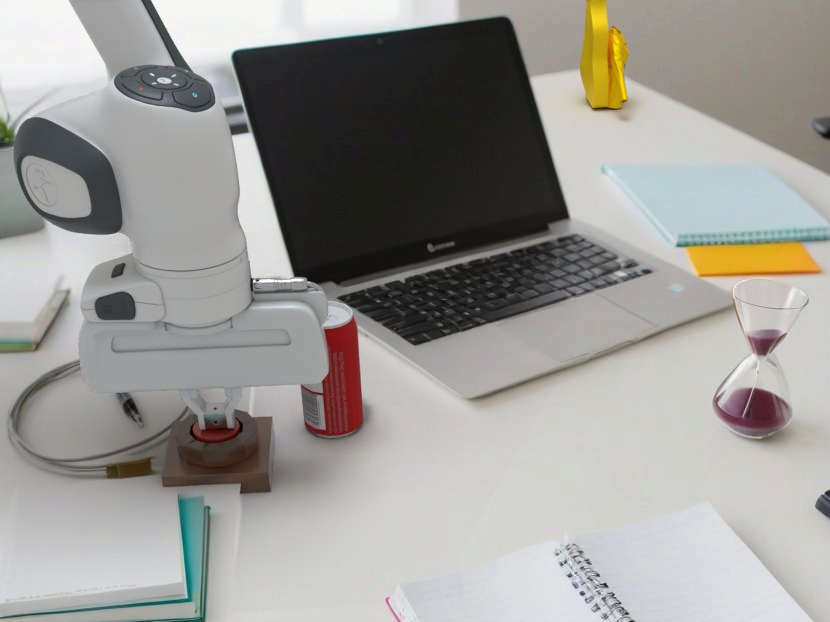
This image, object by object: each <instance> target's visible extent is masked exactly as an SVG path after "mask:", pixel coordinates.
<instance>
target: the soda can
mask: <svg viewBox="0 0 830 622" xmlns="http://www.w3.org/2000/svg"><path fill="white" fill-rule="evenodd" d="M353 312H354V311H353V308H351V307H349V306H348V305H347V304H345V303H341V302H339V301H334V300H328V318H327V320H326V322H325V323H324V324H323V327H324V332H325V336H326V342H327V348H328V358H329V372H328V374H327V376H326V377H325V378H324V379H323V381H322V382H321V383H318V384H301V385H300V393H301V403H302V414H303V423H304V426H305V427H306V429H307V430H309V431H310V432H312V433H313V434H315V435H316V436H317V437H322V438H326V439H337V438H342V437H346V436H349V435H351V434H353V433H354V432H356V431H357V430H358V429H359V428H360V427H361V426H362V425H363V422H364V409H363V408H364V407H363V396H362V395H363V392H362V378H361V363H360V362H361V360H360V359H361V358H360V347H359V343H360V342H359V328H358V324H357V322H356V319H355V316H354V313H353Z"/></svg>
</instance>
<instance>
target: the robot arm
mask: <svg viewBox="0 0 830 622" xmlns="http://www.w3.org/2000/svg"><path fill="white" fill-rule="evenodd" d="M68 2H69V4H70V5H71V8H72V9H73V11H74V12H75V15H76V16H77V18H78V20H79V21H80V23H81V25H82V27H83V28H84V30H85V32H86V34H87V35H88V37H89V39H90V40H91V42H92V44H93V46H94V47H95V49H96V51H97V52H98V54H99V56H100V58H101V59H102V61H103V63H104V64H105V67H106V66H107V68H108V70H109V73H110V77H111V81H110V82H109V81H108V84H106V85H105V86H104V87H101V88H100V89H97V90H94V91H93V92H90V93H86V94H84V95H80V96H76V97H74V98H71V99H68V100H65V101H63V102H59V103H58V104H54V105H53V106H50V107H47V108H45V109H43V110H40V111H39V112H37V113H35V114H34V115H32V116H31V117H29V118H27V119H25V120H23V122H22V123H21V124H20V125H19V127H18V129H17V131H16V133H15V134H16V135H15V138H14V142H13V153H12V155H13V165H14V171H15V174H16V178H17V180H18V183H19V187H20V189H21V192H22V193H23V195H24V197H25V199H26V200H27V202H28V203H29V205H30V206H31V207H32V209H33V210H34V211H35V212H36V213H37V214H38V215H39V216H40V217H41V218H42V219H44V220H45V221H46V222H49V223H50V224H52V225H53V226H56V227H57V228H60V229H61V230H64V231H67V232H70V233H75V234H84V235H93V236H94V235H95V236H107V235H114V234H117V233H118V234H122V235H124V236H126V237H127V238H128V240H129V241H130V243H131V244H130V245H131V253H127V254H124V255H122V256H119V257H116V258H113V259H111V260H108V261H107V260H106V261H103V262H102V263H98V264H96V265H95V266H94V267H93V268H92V269H91V271H90V273H89V274H88V276H87V278H86V280H85V282H84V284H83V287H82V290H81V295H80V303H79V304H80V306H79V307H80V311H81V313H82V316H83V320H82V323H81V326H80V329H79V332H78V337H77V338H78V339H77V340H78V341H77V343H78V346H77V347H78V357H79V364H80V365H79V367H80V373H81V377H82V381H83V382H82V383H83V384H84V386H86V387H87V388H88V389H89V390H91V391H92V392H93V393H95V394H97V395H99V394H101V395H102V394H103V395H104V394H118V393H120V394H121V393H123V394H125V393H141V392H142V393H144V392H146V393H147V392H165V391H167V392H169V391H179V394H180V400H181V401H182V402H183V403H184V404H185V405H186V406H187V407H188V408H189V409H190V410H191V411H192V412H193V414H194V413H195V414H196V415H197V416H198V422H199V427H200V430H211V429H230V428H234V425H235V414H234V410H235V409H236V408H237V407H238V405H239V403H240V401H241V399H242V397H243V388H254V387H255V388H256V387H276V386H295V385H296V386H299V385H300V386H301V384H318V383H321V382H322V381H323V379H324V378H325V377H326V376H327V374H328V372H329V358H328V348H327V342H326V336H325V332H324V327H323V324H324V323H325V322H326V320H327V318H328V301H329V299H328V296H327V293H326V291H325V290H324V288H323V287H322V286H321V285H319V284H318V283H316V282H313V281H308V278H307V277H304V276H293V277H290V278H277V277H276V278H275V277H256V278H253V277H252V273H251V274H250V269H251V265H250V266H249V261H250V260H249V258H250V257H249V252H248V244H247V237H246V234H245V232H244V229H243V227H242V225H241V223H240V218H239V203H240V196H241V186H240V178H239V172H238V171H239V170H238V164H237V158H236V151H235V145H234V141H233V135H232V131H231V127H230V123H229V119H228V116H227V114H226V110H225V107H224V105H223V102H222V101H221V98H220V96H219V94H218V93H217V90H216V88H215V87H214V86H213V84H211V82H209V81H208V79H206V78H204V77H203V76H201V75H199V74H197V73H195V72H194V71H193V69H192V68H191V67H190V65H189V64H188V63H187V61H186V59H185V58H184V57H183V55H182V53H181V52H180V50H179V49H178V46H177V45H176V43H175V41H174V40H173V39H172V36H171V34H170V33H169V31H168V28H167V29H166V27H165V25H166V24H165V23H164V21H163V20H162V18H161V16H160V14H159V12H158V10H157V9H156V7H155V5H154V3H153V1H152V0H68ZM164 24H165V25H164ZM211 389H223V390H224V396H225V397H226V400H225V402H218V403H217V402H214V403H207V402H206V401H205V399H204V398H203V397H202V396H201V394H200V393H199V390H211Z"/></svg>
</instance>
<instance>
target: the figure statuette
mask: <svg viewBox="0 0 830 622" xmlns="http://www.w3.org/2000/svg"><path fill="white" fill-rule="evenodd" d="M583 32H584V33H583V42H582V48H581V55H580V62H579V73H580V78H581V83H582V85H583V90H584V93H585V98H586V99H587V101H588V103H589V105H590V107H591V108H592V109H596V108H597V109H598V108H610V109H616V110H617V109H622V108H623V103H626V102H628V101H629V99H628V94H627V93H628V91H627V88H626V78H625V68H626V63H627V61H628V58H629V57H630V56H629V55H630V53H631V51H630V50H629V49H628V48H627V45H628V44H627V43H628V41H627V40H626V39H625V38H624V34H622V31H621V30H620V29H618V27H616V26H615V25H611V26H609V19H608V12H607V0H586V1H585V19H584V31H583Z"/></svg>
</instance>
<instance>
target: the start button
mask: <svg viewBox="0 0 830 622" xmlns="http://www.w3.org/2000/svg"><path fill="white" fill-rule="evenodd" d="M193 434H194V439H195V440H197V441H200V442H204V443H222V442H225V441H228V440H230V439H233V438H235V437H236V436H238V435H239V434H240V425H239V422H238V421H237V420H236V419H235V425H234V428H230V429H211V430H200V427H199V422H198V421H197V422H196V423H195V424H194V426H193Z"/></svg>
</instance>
